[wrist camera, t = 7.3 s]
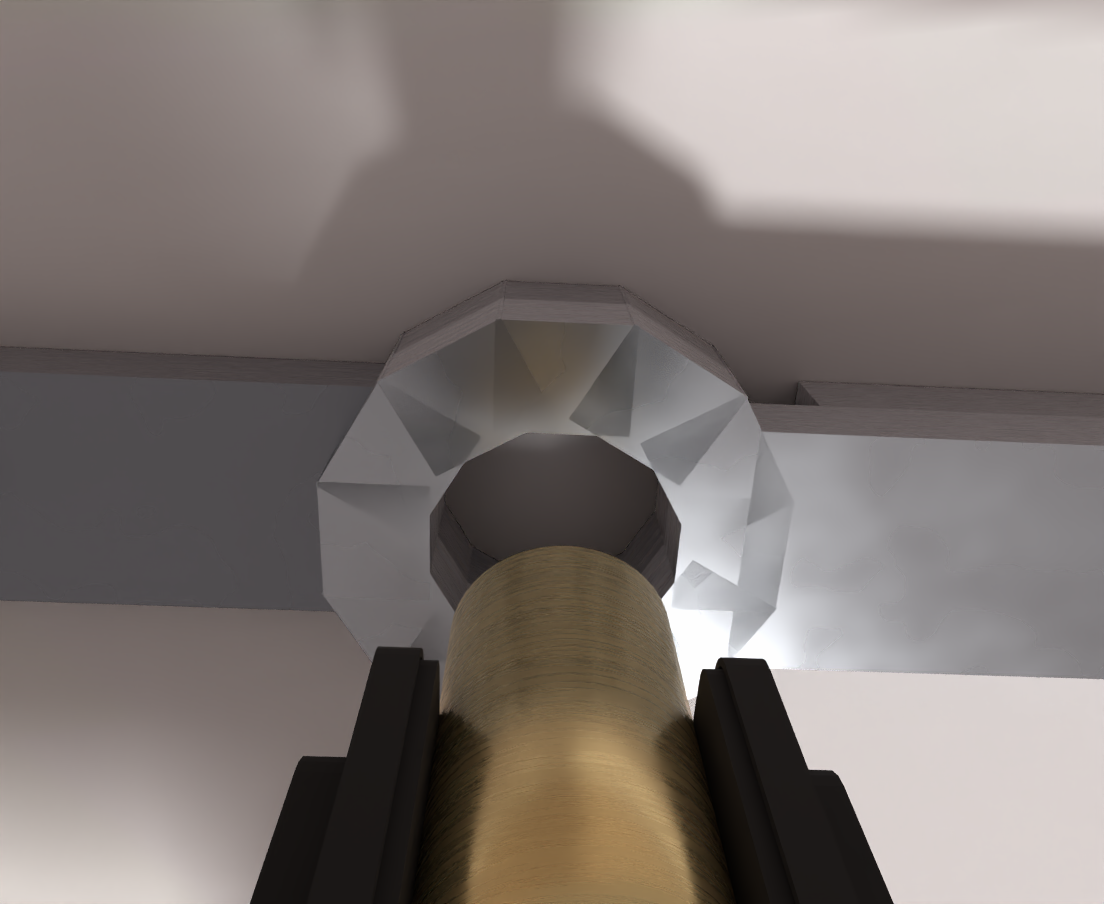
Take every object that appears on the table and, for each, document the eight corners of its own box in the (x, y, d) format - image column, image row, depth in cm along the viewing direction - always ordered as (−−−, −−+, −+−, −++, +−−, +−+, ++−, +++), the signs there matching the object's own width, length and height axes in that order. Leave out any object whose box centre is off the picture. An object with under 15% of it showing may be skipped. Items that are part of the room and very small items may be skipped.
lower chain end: (779, 292, 18) (813, 321, 16) (724, 654, 21) (746, 719, 19) (-355, 239, 17) (-484, 263, 15) (-224, 623, 20) (-313, 687, 18)
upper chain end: (1418, 322, 18) (1629, 381, 15) (1264, 671, 21) (1406, 787, 18) (341, 271, 17) (293, 321, 14) (357, 642, 21) (320, 757, 17)
